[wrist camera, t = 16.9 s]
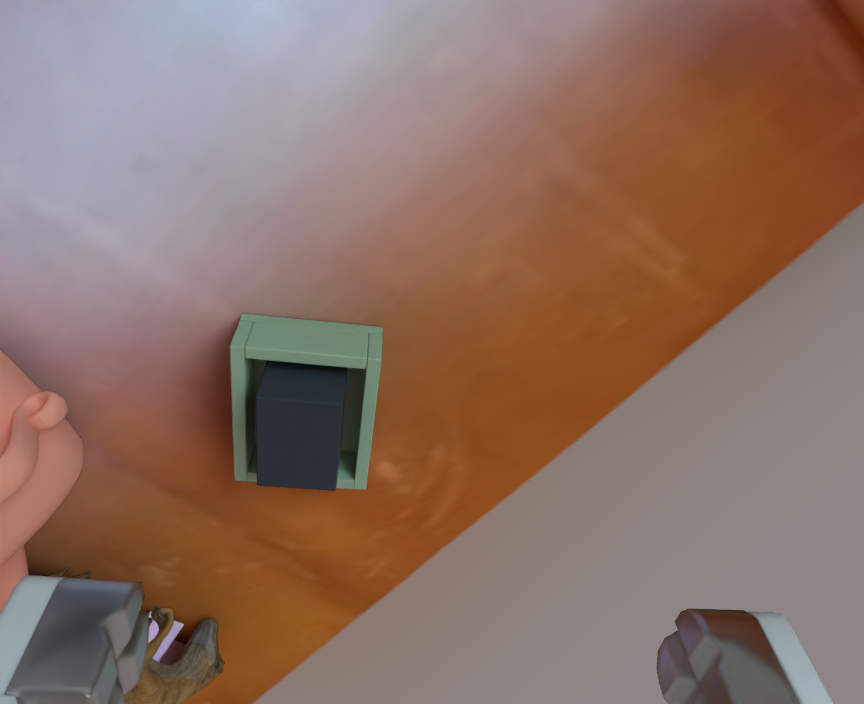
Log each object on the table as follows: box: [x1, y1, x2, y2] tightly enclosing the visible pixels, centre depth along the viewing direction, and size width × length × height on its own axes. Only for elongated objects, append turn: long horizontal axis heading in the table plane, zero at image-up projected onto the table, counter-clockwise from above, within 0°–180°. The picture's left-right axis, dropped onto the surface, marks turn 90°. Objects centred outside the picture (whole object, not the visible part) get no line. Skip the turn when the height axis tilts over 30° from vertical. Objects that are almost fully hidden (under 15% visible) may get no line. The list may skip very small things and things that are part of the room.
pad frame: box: [230, 313, 383, 490], centre depth 30 cm, size 6×8×3 cm
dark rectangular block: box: [256, 360, 348, 491], centre depth 30 cm, size 4×5×4 cm
